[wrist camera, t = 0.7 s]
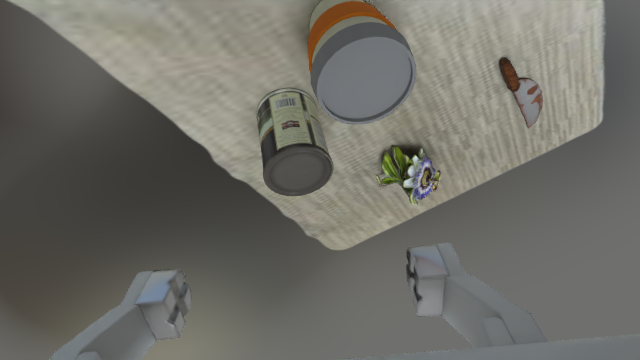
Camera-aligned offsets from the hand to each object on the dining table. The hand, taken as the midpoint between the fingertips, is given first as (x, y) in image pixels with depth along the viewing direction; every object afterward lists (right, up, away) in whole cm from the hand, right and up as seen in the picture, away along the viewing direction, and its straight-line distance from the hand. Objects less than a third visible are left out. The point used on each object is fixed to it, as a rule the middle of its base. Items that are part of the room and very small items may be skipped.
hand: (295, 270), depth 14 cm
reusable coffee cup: (+4, +26, +41) cm, 49 cm away
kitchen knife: (+39, +20, +57) cm, 72 cm away
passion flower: (+18, +7, +66) cm, 69 cm away
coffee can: (-5, +15, +51) cm, 54 cm away
